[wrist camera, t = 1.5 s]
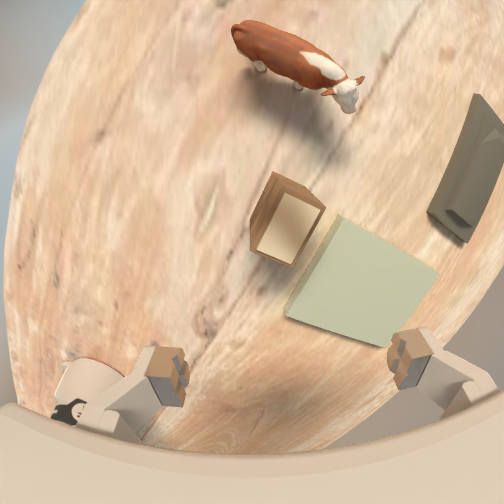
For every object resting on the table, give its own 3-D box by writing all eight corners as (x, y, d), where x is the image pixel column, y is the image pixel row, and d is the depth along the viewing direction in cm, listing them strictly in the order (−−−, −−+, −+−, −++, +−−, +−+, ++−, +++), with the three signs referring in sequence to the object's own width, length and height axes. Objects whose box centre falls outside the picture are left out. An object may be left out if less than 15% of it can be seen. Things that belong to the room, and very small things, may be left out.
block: (281, 232, 32) (292, 269, 24) (249, 219, 32) (250, 252, 23) (305, 186, 30) (327, 208, 22) (272, 171, 29) (282, 186, 21)
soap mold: (505, 135, 26) (519, 138, 23) (461, 240, 33) (474, 249, 30) (470, 93, 24) (486, 92, 21) (422, 209, 32) (436, 217, 28)
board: (381, 339, 40) (385, 347, 38) (283, 306, 36) (285, 315, 35) (432, 267, 34) (439, 274, 33) (338, 213, 31) (343, 218, 29)
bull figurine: (330, 123, 27) (357, 120, 20) (226, 56, 24) (218, 31, 17) (351, 94, 26) (383, 84, 18) (249, 28, 23) (249, -4, 15)
